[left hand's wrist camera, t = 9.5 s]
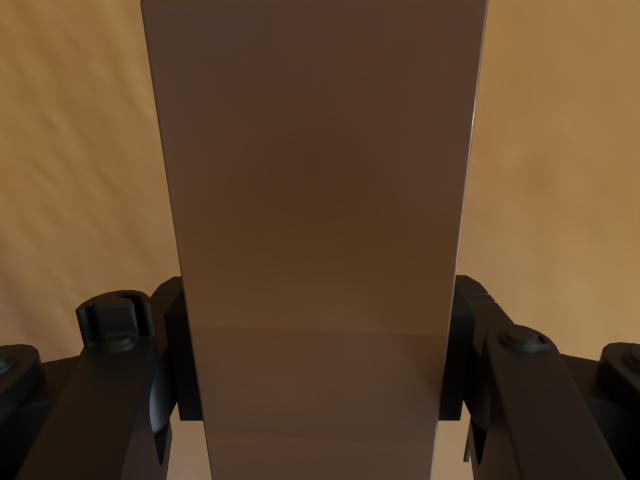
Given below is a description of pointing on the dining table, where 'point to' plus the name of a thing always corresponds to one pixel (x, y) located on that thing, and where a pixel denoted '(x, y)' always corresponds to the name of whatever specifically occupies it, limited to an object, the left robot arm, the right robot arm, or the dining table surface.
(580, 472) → the left robot arm
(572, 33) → the dining table surface
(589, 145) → the dining table surface
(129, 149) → the dining table surface
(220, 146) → the post
